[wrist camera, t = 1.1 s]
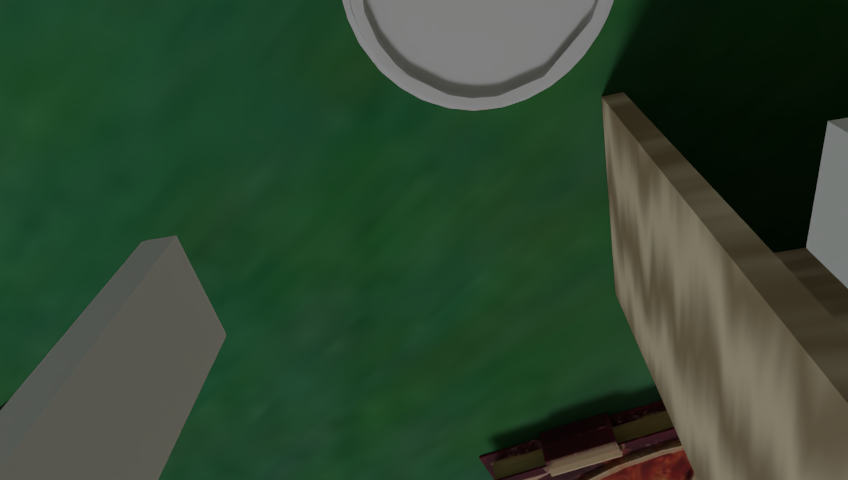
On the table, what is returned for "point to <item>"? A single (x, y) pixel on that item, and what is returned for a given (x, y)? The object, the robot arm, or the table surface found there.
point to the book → (599, 450)
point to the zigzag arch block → (725, 317)
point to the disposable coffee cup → (476, 45)
